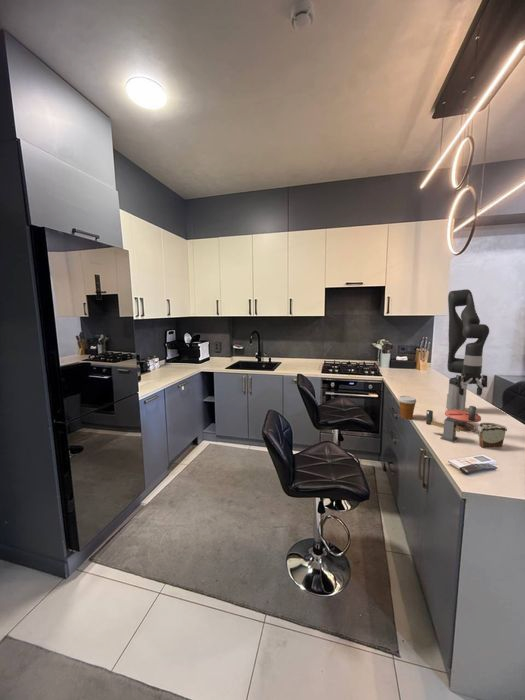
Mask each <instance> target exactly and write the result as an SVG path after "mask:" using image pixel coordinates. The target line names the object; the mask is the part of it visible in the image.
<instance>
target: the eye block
mask: <svg viewBox="0 0 525 700" xmlns="http://www.w3.org/2000/svg"><path fill="white" fill-rule="evenodd" d="M443 421H444V422H443V424H444V428H443V432H442V436H440V440H443V441H446V442H449V443H456V441H458V439H459V437H457V435H456V434H457V431H454V426H455V427H456V425H457V419H453V418H449V417H447V416H446V418H445V419H444V420H443Z"/></svg>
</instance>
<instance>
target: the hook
mask: <svg viewBox="0 0 525 700" xmlns="http://www.w3.org/2000/svg"><path fill="white" fill-rule="evenodd" d="M425 416H426V418H425V425H429V426H435V427H437V428H438V427H439V428H442V429H444V422H439V421H435V420H433V419H434V418H433V416H434V411H433V410H430V409H427V410H426V415H425ZM454 431H456V433H457V432H458V433H460V431H461V430H460V428H459V427H455V426H454Z"/></svg>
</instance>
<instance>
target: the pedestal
mask: <svg viewBox="0 0 525 700" xmlns="http://www.w3.org/2000/svg"><path fill="white" fill-rule="evenodd" d="M456 427H459V428H460V431H462V432H472V431H473V432H474V430H475V426H474V424H473V423H472V422H466V425H460V424H458V420H457V425H456Z"/></svg>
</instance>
